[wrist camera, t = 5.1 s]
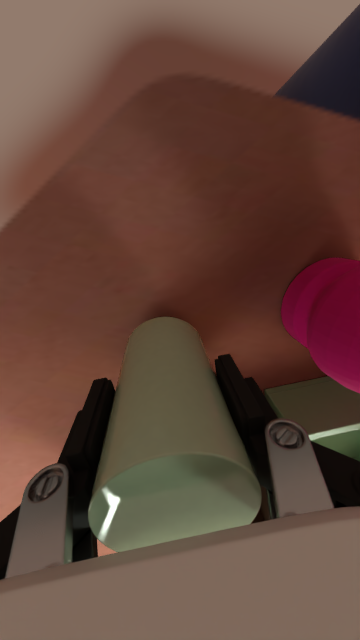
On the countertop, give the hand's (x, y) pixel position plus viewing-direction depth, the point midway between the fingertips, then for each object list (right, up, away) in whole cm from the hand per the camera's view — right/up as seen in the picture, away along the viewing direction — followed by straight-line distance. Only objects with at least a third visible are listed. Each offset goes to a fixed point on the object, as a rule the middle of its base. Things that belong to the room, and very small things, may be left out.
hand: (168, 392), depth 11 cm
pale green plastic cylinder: (0, +2, +4) cm, 4 cm away
